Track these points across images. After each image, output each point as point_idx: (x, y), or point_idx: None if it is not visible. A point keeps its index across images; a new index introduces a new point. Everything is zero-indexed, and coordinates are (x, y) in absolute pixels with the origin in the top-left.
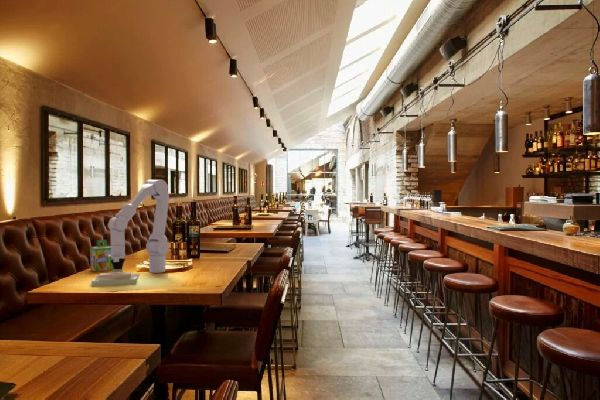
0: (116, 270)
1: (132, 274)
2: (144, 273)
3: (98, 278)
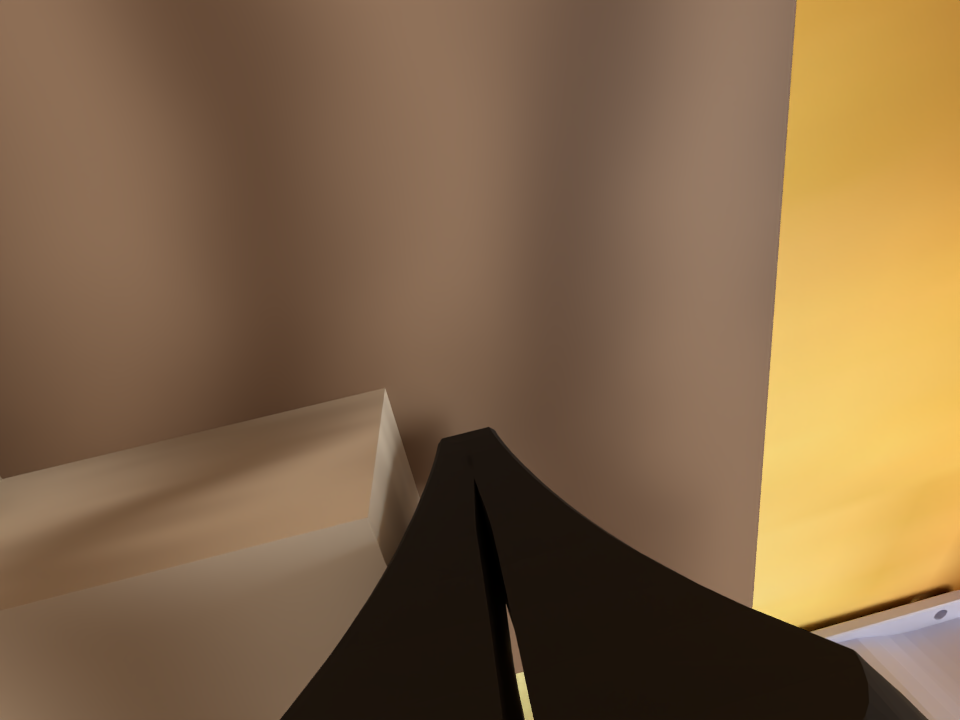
0: (235, 647)
1: (720, 543)
2: (871, 571)
3: (415, 15)
